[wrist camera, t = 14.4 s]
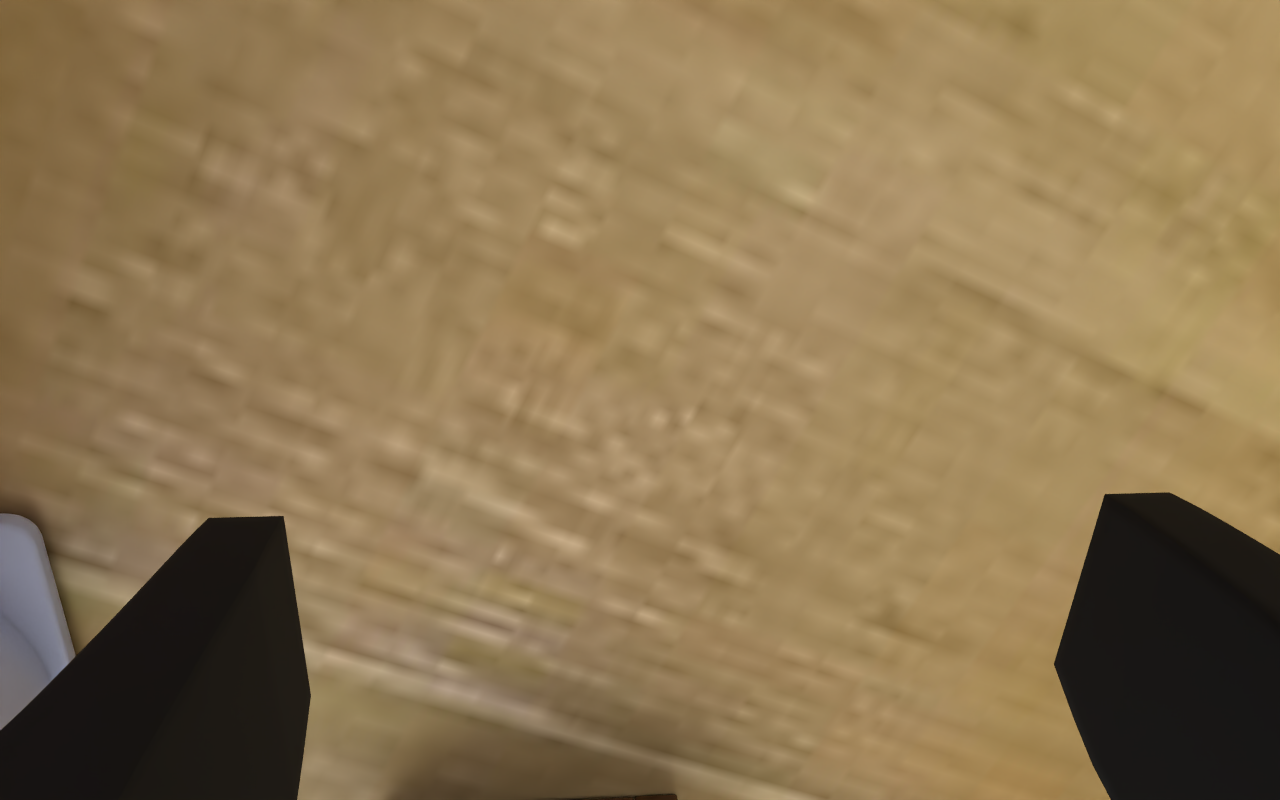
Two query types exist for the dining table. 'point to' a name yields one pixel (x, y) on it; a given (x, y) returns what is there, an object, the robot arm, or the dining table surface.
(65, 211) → the dining table surface
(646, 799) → the holder
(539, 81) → the dining table surface
